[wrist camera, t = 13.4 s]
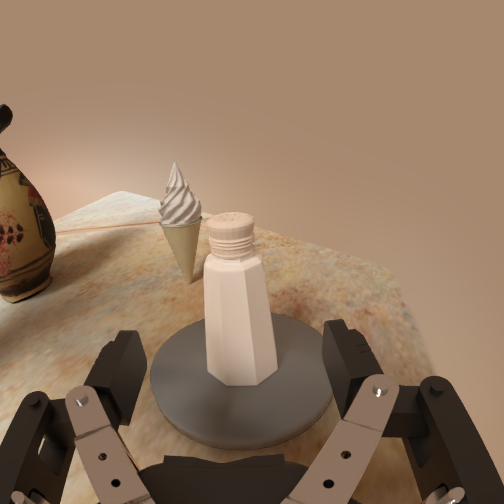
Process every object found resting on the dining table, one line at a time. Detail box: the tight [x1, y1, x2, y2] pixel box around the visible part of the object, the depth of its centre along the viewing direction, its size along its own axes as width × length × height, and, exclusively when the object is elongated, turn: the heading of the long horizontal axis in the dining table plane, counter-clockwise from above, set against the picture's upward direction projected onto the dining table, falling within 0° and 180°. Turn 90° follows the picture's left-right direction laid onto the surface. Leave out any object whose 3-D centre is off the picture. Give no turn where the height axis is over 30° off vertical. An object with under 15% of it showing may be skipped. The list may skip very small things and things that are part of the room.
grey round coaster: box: [150, 313, 333, 450], centre depth 22 cm, size 14×14×2 cm
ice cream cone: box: [159, 161, 202, 284], centre depth 35 cm, size 5×5×15 cm
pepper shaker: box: [204, 212, 278, 386], centre depth 20 cm, size 5×5×11 cm
